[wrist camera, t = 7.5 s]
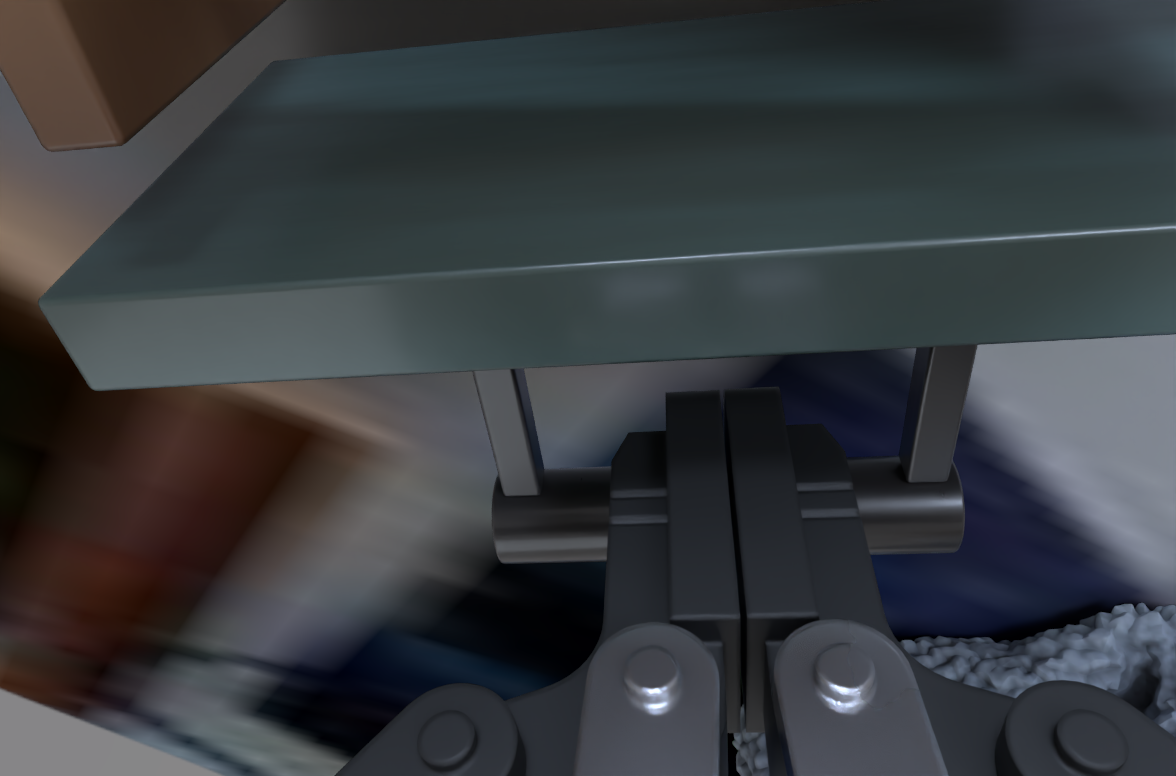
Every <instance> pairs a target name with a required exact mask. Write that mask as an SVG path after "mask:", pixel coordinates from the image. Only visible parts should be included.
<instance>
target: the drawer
mask: <svg viewBox="0 0 1176 776" xmlns="http://www.w3.org/2000/svg"><path fill="white" fill-rule="evenodd" d="M285 1H286V0H0V70H1V72H2V73H3V75H4V77H5V79H6V81H7V83H8V84H9V86H10V88H11V90H12V92H13V93H14V95H15V97H16V99H17V101H18V103H19V104H20V106H21V108H22V110H23V112H24V114H25V115H26V117H27V119H28V121H29V123H30V125H31V126H32V128H33V130H34V132H35V134H36V136H37V137H38V139H39V141H40V143H41V145H42V146H43V147H44V148H45V149H46V150H47V151H51V152H57V151H69V150H80V149H91V148H103V147H114V146H122V145H123V144H125V143H126V142H128V141H129V140H130V139H131V138H132V137H133V136H134V135H136V134H137V133H138V132H139V131H140V130H141V129H142V128H143V127H145V126H146V125H147V124H148V123H149V122H150V121H151V120H152V119H153V118H155V117H156V116H157V115H158V114H159V113H160V112H161V111H162V110H164V109H165V108H166V107H167V106H168V105H169V104H170V103H171V102H173V101H174V100H175V99H176V98H177V97H178V96H179V95H180V94H182V93H183V92H184V91H185V90H186V89H187V88H188V87H189V86H191V85H192V84H193V83H194V82H195V81H196V80H197V79H198V78H200V77H201V76H202V75H203V74H204V73H205V72H206V71H207V70H209V69H210V68H211V67H212V66H213V65H214V64H215V63H216V62H218V61H219V60H220V59H221V58H222V57H223V56H224V55H225V54H227V53H228V52H229V51H230V50H231V49H232V48H233V47H234V46H236V45H237V44H238V43H239V42H240V41H241V40H242V39H243V38H245V37H246V36H247V35H248V34H249V33H250V32H251V31H252V30H254V29H255V28H256V27H257V26H258V25H259V24H260V23H261V22H262V21H264V20H265V19H266V18H267V17H268V16H269V15H270V14H271V13H273V12H274V11H275V10H276V9H277V8H278V7H279V6H280V5H282V4H283V3H284V2H285ZM38 304H39V307H40V309H41V310H42V312H43V314H44V315H45V317H46V318H47V320H48V322H49V323H50V325H51V326H52V328H53V330H54V331H55V333H56V334H57V336H58V337H59V339H60V341H61V342H62V344H63V345H64V347H65V349H66V350H67V352H68V353H69V355H70V357H71V358H72V360H73V361H74V363H75V365H76V366H77V368H78V369H79V371H80V372H81V374H82V376H83V377H84V379H85V380H86V382H87V384H88V385H89V387H90V388H92V389H93V390H96V391H104V390H123V389H142V388H161V387H180V386H199V385H218V384H237V383H256V382H275V381H294V380H313V379H332V378H351V377H370V376H389V375H408V374H427V373H446V372H466V371H472V372H473V376H474V380H475V384H476V388H477V392H478V396H479V400H480V404H481V408H482V411H483V415H484V419H485V423H486V427H487V431H488V435H489V439H490V443H491V447H492V451H493V455H494V458H495V462H496V466H497V470H498V476H497V478H496V482H495V485H494V491H493V499H492V531H493V539H494V545H495V550H496V553H497V556H498V558H499V560H500V562H501V563H504V564H525V563H565V562H604V561H607V542H608V525H609V503H610V483H611V467H586V468H560V469H544V465H543V460H542V455H541V450H540V446H539V441H538V436H537V431H536V426H535V421H534V416H533V412H532V407H531V402H530V397H529V392H528V387H527V382H526V378H525V373H524V368H542V367H561V366H580V365H599V364H618V363H637V362H656V361H675V360H694V359H713V358H732V357H751V356H770V355H789V354H808V353H827V352H846V351H866V350H885V349H904V348H916V354H915V360H914V366H913V373H912V379H911V385H910V391H909V397H908V403H907V409H906V415H905V421H904V427H903V434H902V440H901V446H900V452H899V456H874V457H848V458H847V462H848V466H849V470H850V474H851V478H852V482H853V490H854V491H855V495H856V499H857V503H858V507H859V516H860V517H861V519H862V523H863V528H864V532H865V536H866V540H867V544H868V548H869V552H870V555H884V554H923V553H953V552H955V551H957V550H958V549H959V547H960V545H961V542H962V539H963V534H964V525H965V509H964V497H963V491H962V486H961V481H960V477H959V474H958V471H957V469H956V466H955V464H954V462H953V460H952V459H953V455H954V450H955V445H956V441H957V436H958V432H959V427H960V423H961V418H962V414H963V409H964V405H965V400H966V396H967V391H968V386H969V382H970V377H971V373H972V368H973V364H974V359H975V355H976V350H977V346H978V345H980V344H999V343H1018V342H1037V341H1056V340H1075V339H1094V338H1113V337H1132V336H1151V335H1170V334H1176V0H885V1H875V2H865V3H855V4H845V5H835V6H825V7H815V8H805V9H795V10H785V11H774V12H764V13H754V14H744V15H734V16H724V17H714V18H704V19H694V20H684V21H674V22H664V23H653V24H643V25H633V26H623V27H613V28H603V29H593V30H583V31H573V32H563V33H553V34H543V35H532V36H522V37H512V38H502V39H492V40H482V41H472V42H462V43H452V44H442V45H432V46H422V47H411V48H401V49H391V50H381V51H371V52H361V53H351V54H341V55H331V56H321V57H311V58H300V59H290V60H280V61H273V62H272V63H270V64H269V65H268V66H267V67H266V68H265V69H264V70H263V71H262V72H261V74H260V75H259V76H258V77H257V78H256V79H255V80H254V81H253V82H252V83H251V84H250V85H249V86H248V87H247V88H246V89H245V90H244V91H243V92H242V93H241V94H240V95H239V96H238V97H237V98H236V99H235V100H234V101H233V102H232V103H231V104H230V105H229V106H228V107H227V108H226V109H225V110H224V111H223V112H222V113H221V114H220V115H219V116H218V117H217V118H216V119H215V120H214V121H213V122H212V123H211V124H210V125H209V126H208V127H207V128H206V129H205V130H204V132H203V133H202V134H201V135H200V136H199V137H198V138H197V139H196V140H195V141H194V142H193V143H192V144H191V145H190V146H189V147H188V148H187V149H186V150H185V151H184V152H183V153H182V154H181V155H180V156H179V157H178V158H177V159H176V160H175V161H174V162H173V163H172V164H171V165H170V166H169V167H168V168H167V169H166V170H165V171H164V172H163V173H162V174H161V175H160V176H159V177H158V178H157V179H156V180H155V181H154V182H153V183H152V184H151V185H150V186H149V187H148V188H147V189H146V191H145V192H144V193H143V194H142V195H141V196H140V197H139V198H138V199H137V200H136V201H135V202H134V203H133V204H132V205H131V206H130V207H129V208H128V209H127V210H126V211H125V212H124V213H123V214H122V215H121V216H120V217H119V218H118V219H117V220H116V221H115V222H114V223H113V224H112V225H111V226H110V227H109V228H108V229H107V230H106V231H105V232H104V233H103V234H102V235H101V236H100V237H99V238H98V239H97V240H96V241H95V242H94V243H93V244H92V245H91V246H90V247H89V249H88V250H87V251H86V252H85V253H84V254H83V255H82V256H81V257H80V258H79V259H78V260H77V261H76V262H75V263H74V264H73V265H72V266H71V267H70V268H69V269H68V270H67V271H66V272H65V273H64V274H63V275H62V276H61V277H60V278H59V279H58V280H57V281H56V282H55V283H54V284H53V285H52V286H51V287H50V288H49V289H48V290H47V291H46V292H45V293H44V294H43V295H42V296H41V297H40V298H39V301H38Z"/></svg>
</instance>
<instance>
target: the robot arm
mask: <svg viewBox="0 0 1176 776" xmlns="http://www.w3.org/2000/svg"><path fill="white" fill-rule="evenodd" d="M723 405H724V434H723V423H722V412H721V401H720V392H719V390H709V391H689V392H669V393H666V431H653V432H631V433H628V434H627V436H626V438H625V439H624V441H623V443H622V444H621V446H620V448H619V449H618V451H617V453H616V454H615V456H614V458H613V459H612V464H611V483H610V503H609V525H608V542H607V562H606V581H605V601H604V620H603V627H602V632H601V635H600V638H599V641H598V643H597V645H596V647H595V649H594V651H593V652H592V654H591V655H590V656H589V658H588V659H587V660H586V661H585V662H584V663H583V664H582V665H581V666H580V668H578V669H577V670H576V671H575V672H573V673H572V674H571V675H569V676H568V677H566V678H564V679H563V680H561V681H559V682H557V683H555V684H552V685H550V686H547V687H545V688H542V689H539V690H536V691H533V692H530V693H527V694H524V695H521V696H518V697H515V698H512V699H509V700H506V701H504V700H503V699H502V698H501V697H500V696H499V695H497V694H496V693H494V692H493V691H491V690H489V689H487V688H485V687H482V686H479V685H475V684H469V683H456V684H448V685H444V686H441V687H437V688H435V689H433V690H430V691H428V692H426V693H424V694H423V695H421V696H420V697H418V698H416V699H415V700H414V701H413V702H411V703H410V704H409V705H408V706H407V707H406V708H405V709H404V710H402V711H401V712H400V713H399V714H398V715H397V716H396V717H395V718H394V719H393V720H392V721H391V722H390V723H389V724H388V725H387V726H386V727H385V728H384V729H383V730H382V731H381V732H380V733H379V734H377V735H376V736H375V737H374V738H373V739H372V740H371V741H370V742H369V743H368V744H367V745H366V746H365V747H364V748H363V749H362V750H361V751H360V752H359V753H358V754H357V755H356V756H355V757H353V758H352V759H351V760H350V761H349V762H348V763H347V764H346V765H345V766H344V767H343V768H342V769H341V770H340V771H339V772H338V773H337V774H336V775H335V776H728V743H727V733H741V727H740V668H741V679H742V691H743V702H744V713H745V725H746V733H765V738H766V747H767V757H768V767H769V776H1176V737H1174V736H1173V735H1172V734H1170V733H1169V732H1168V731H1166V730H1165V729H1163V728H1162V727H1161V726H1159V725H1158V724H1157V723H1155V722H1154V721H1152V720H1151V719H1150V718H1148V717H1147V716H1146V715H1144V714H1143V713H1142V712H1140V711H1139V710H1137V709H1136V708H1135V707H1133V706H1132V705H1131V704H1129V703H1128V702H1126V701H1124V700H1123V699H1121V698H1120V697H1118V696H1116V695H1114V694H1112V693H1110V692H1108V691H1106V690H1104V689H1102V688H1099V687H1096V686H1093V685H1091V684H1086V683H1082V682H1078V681H1068V680H1054V681H1047V682H1042V683H1038V684H1036V685H1034V686H1031V687H1029V688H1027V689H1026V690H1025V691H1023V692H1022V693H1020V694H1019V695H1018V696H1017V698H1013V697H1010V696H1006V695H1003V694H999V693H996V692H992V691H989V690H985V689H981V688H978V687H974V686H971V685H967V684H964V683H960V682H957V681H954V680H951V679H949V678H946V677H944V676H942V675H940V674H937V673H935V672H933V671H932V670H930V669H929V668H927V667H925V666H924V665H922V664H921V663H919V662H918V661H917V660H916V659H915V658H913V657H912V656H911V655H910V654H909V653H908V652H907V651H906V650H905V649H904V648H903V647H902V646H901V645H900V643H899V642H898V641H897V639H896V638H895V636H894V635H893V633H892V631H891V629H890V627H889V626H888V623H887V620H886V617H885V614H884V610H883V605H882V601H881V597H880V593H879V589H878V585H877V581H876V577H875V573H874V569H873V564H872V560H871V556H870V552H869V548H868V544H867V540H866V536H865V532H864V528H863V523H862V519H861V517H860V516H859V507H858V503H857V499H856V495H855V491H854V490H853V482H852V478H851V474H850V470H849V466H848V462H847V458H846V454H845V451H844V450H843V448H842V447H841V446H840V445H839V444H838V443H837V441H836V440H835V439H834V438H833V437H832V435H831V434H830V433H829V432H828V431H827V430H826V428H825V427H824V426H823V425H822V424H806V425H786V422H785V416H784V411H783V405H782V399H781V394H780V390H779V387H765V388H745V389H725V390H724V393H723Z"/></svg>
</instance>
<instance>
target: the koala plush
mask: <svg viewBox="0 0 1176 776" xmlns="http://www.w3.org/2000/svg"><path fill="white" fill-rule="evenodd" d="M899 643H900V645H901V646H902V647H903V648H904V649H905V650H906V651H907V652H908V653H909V654H910V655H911V656H912V657H913V658H915V659H916V660H917V661H918V662H919V663H921V664H922V665H924V666H925V667H927V668H929V669H930V670H932V671H933V672H935V673H937V674H940V675H942V676H944V677H946V678H949V679H951V680H954V681H957V682H960V683H964V684H967V685H971V686H974V687H978V688H981V689H985V690H989V691H992V692H996V693H999V694H1003V695H1006V696H1010V697H1013V698H1017V696H1018V695H1019V694H1020V693H1022V692H1023V691H1025V690H1026V689H1027V688H1029V687H1031V686H1034V685H1036V684H1038V683H1042V682H1047V681H1054V680H1068V681H1078V682H1082V683H1086V684H1091V685H1093V686H1096V687H1099V688H1102V689H1104V690H1106V691H1108V692H1110V693H1112V694H1114V695H1116V696H1118V697H1120V698H1121V699H1123V700H1124V701H1126V702H1128V703H1129V704H1131V705H1132V706H1133V707H1135V708H1136V709H1137V710H1139V711H1140V712H1142V713H1143V714H1144V715H1146V716H1147V717H1148V718H1150V719H1151V720H1152V721H1154V722H1155V723H1157V724H1158V725H1159V726H1161V727H1162V728H1163V729H1165V730H1166V731H1168V732H1169V733H1170V734H1172V735H1173V736H1174V737H1176V606H1175V605H1169V606H1166V607H1163V606H1157V607H1156V608H1155V609H1154V610H1153V611H1151V610H1149V609H1148V608H1147V607H1146V605H1145V604H1144V603H1139V604H1138V605H1137V606H1136V608H1135V609H1134V606H1133V605H1132V604H1122V605H1120V606H1115V607H1114V608H1113V609H1112V612H1111V613H1104V612H1099V613H1098V614H1096V615H1095V616H1091V617H1089V618H1086V619H1082V620H1080V624H1079V625H1069V624H1068V625H1066V626H1065V627H1064V628H1060V629H1048V630H1046V631H1045V632H1040V633H1037V634H1036V635H1035V636H1034V637H1027V638H1025V639H1023V640H1014V641H1013V642H1012V643H1011V642H1010V641H1008V640H1002V641H1000V642H998V643H995V642H994V641H993V640H992V639H991V638H989V637H981V638H979V637H976V638H970V639H965V638H958V639H957V638H952V637H949V638H946V637H942V636H938V637H937V638H935V639H933V638H931V637H921V638H917V639H915V640H914V641H912V640H902V641H901V642H899ZM740 727H741V733H734V738H735V740H734V741H733V742H732V743H733V745H734V746H735V747H736V749H737V750H738V753H737V755H736V766H737V771H738V772H739V774H740V775H741V776H769V767H768V757H767V747H766V738H765V733H746V725H745V713H744V704H743V705H742V707H741V712H740Z"/></svg>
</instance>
